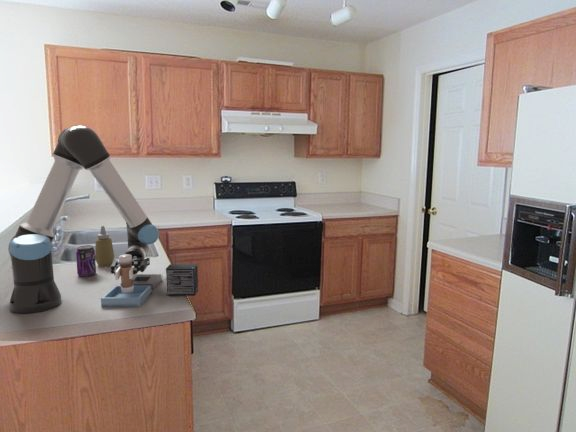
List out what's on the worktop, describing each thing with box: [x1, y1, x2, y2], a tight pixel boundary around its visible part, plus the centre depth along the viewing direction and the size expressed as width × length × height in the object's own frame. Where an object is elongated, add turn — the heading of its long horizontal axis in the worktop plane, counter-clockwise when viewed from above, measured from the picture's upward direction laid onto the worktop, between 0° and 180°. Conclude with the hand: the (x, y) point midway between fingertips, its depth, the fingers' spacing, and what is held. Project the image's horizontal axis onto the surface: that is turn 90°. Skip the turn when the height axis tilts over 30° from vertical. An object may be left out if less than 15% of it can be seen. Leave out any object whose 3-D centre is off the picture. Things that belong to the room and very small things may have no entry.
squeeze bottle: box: [94, 225, 115, 268], centre depth 190 cm, size 8×8×18 cm
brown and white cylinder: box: [118, 253, 134, 294], centre depth 148 cm, size 4×4×13 cm
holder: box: [119, 273, 162, 291], centre depth 165 cm, size 12×12×2 cm
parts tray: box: [100, 285, 152, 308], centre depth 149 cm, size 13×13×3 cm
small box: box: [165, 263, 199, 297], centre depth 156 cm, size 11×6×10 cm, turn 92°
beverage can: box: [75, 244, 97, 277], centre depth 177 cm, size 7×7×12 cm
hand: (123, 275), depth 143 cm, fingers closed on brown and white cylinder, 4 cm apart
